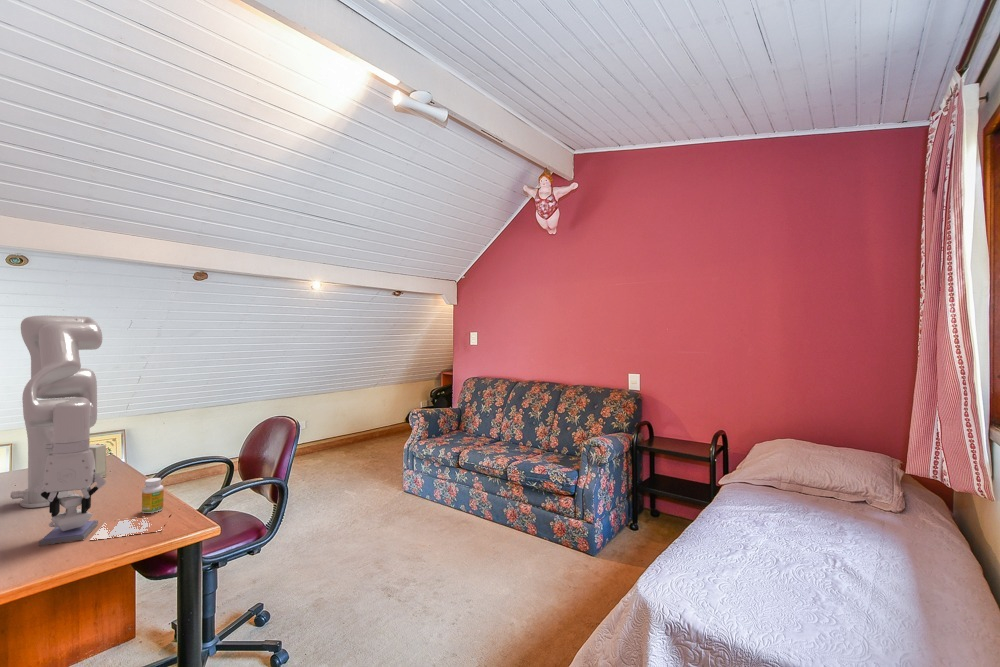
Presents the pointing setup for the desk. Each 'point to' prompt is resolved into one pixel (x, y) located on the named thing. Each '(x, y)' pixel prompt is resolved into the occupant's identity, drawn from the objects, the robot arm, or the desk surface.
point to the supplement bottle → (152, 496)
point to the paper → (121, 529)
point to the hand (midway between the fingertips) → (70, 512)
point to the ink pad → (68, 534)
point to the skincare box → (99, 458)
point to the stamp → (70, 514)
